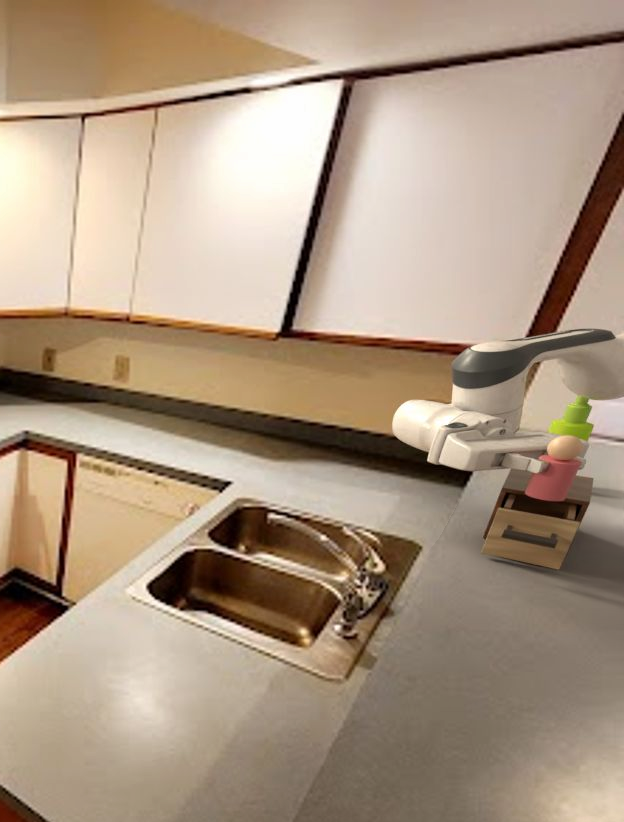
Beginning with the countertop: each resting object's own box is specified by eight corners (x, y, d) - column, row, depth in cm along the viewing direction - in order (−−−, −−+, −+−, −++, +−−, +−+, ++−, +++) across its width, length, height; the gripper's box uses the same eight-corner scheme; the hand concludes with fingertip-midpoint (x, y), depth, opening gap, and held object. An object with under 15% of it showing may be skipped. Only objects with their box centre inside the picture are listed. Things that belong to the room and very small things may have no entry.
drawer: (557, 580, 93) (578, 533, 90) (476, 561, 99) (493, 517, 96) (564, 541, 104) (583, 498, 100) (492, 527, 110) (507, 486, 107)
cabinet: (566, 555, 101) (590, 502, 97) (482, 538, 108) (502, 487, 104) (571, 527, 110) (593, 477, 106) (493, 513, 117) (512, 466, 113)
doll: (559, 493, 98) (586, 433, 94) (569, 503, 94) (596, 441, 90) (521, 488, 100) (545, 430, 96) (528, 498, 97) (554, 438, 92)
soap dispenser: (556, 493, 124) (598, 393, 116) (520, 482, 130) (557, 386, 122) (581, 490, 125) (624, 390, 116) (544, 479, 131) (582, 384, 122)
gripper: (527, 454, 109) (615, 481, 96) (418, 462, 108) (493, 491, 95) (542, 418, 106) (634, 442, 94) (429, 427, 105) (508, 451, 93)
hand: (562, 466), depth 94 cm, fingers closed on doll, 4 cm apart
